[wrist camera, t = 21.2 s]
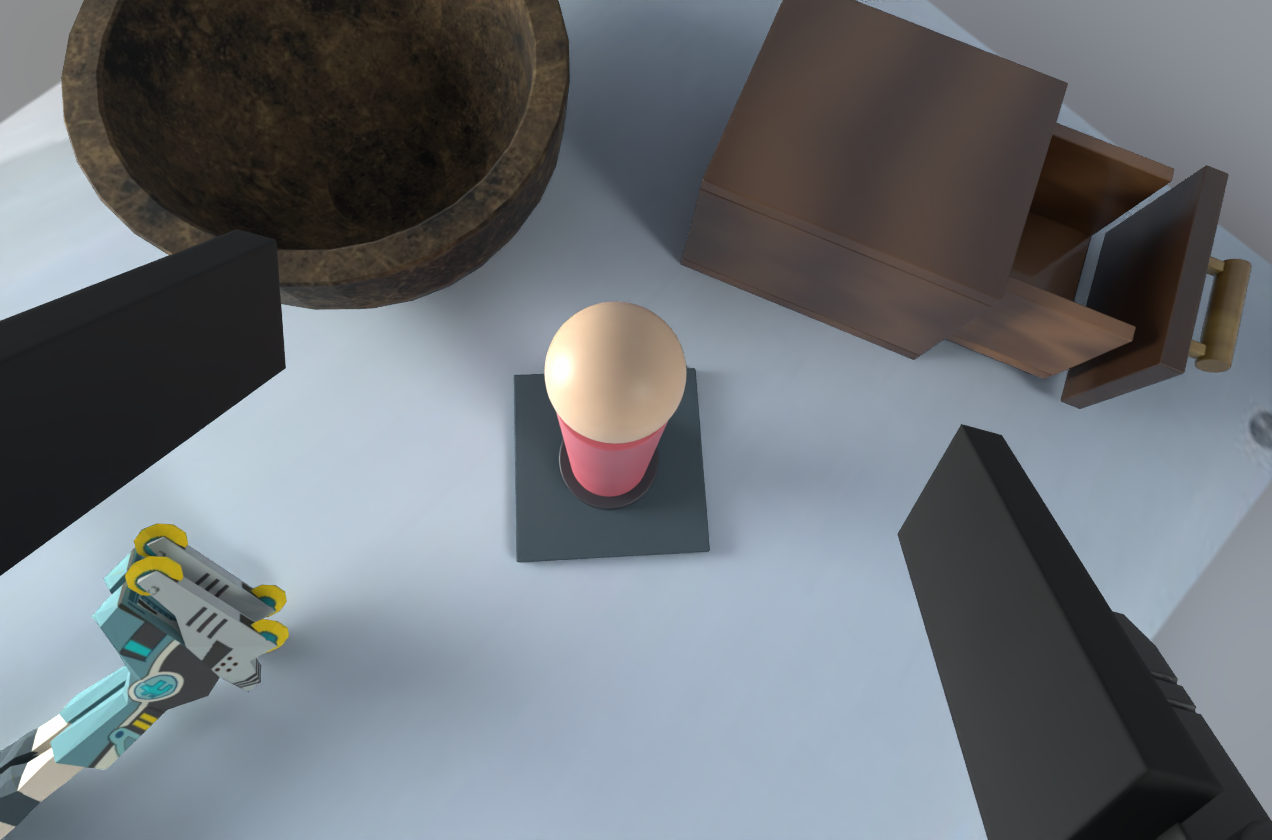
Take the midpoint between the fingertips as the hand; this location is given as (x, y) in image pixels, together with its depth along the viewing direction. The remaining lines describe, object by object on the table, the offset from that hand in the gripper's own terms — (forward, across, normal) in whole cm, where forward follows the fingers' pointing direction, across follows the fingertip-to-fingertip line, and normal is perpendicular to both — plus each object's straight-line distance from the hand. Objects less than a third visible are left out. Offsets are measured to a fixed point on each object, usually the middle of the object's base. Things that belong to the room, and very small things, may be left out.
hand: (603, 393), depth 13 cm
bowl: (+27, -17, -6) cm, 32 cm away
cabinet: (+30, +9, -2) cm, 32 cm away
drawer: (+29, +20, -3) cm, 35 cm away
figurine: (+2, -22, -31) cm, 38 cm away
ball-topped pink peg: (+18, 0, -14) cm, 23 cm away
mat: (+18, 0, -15) cm, 23 cm away
